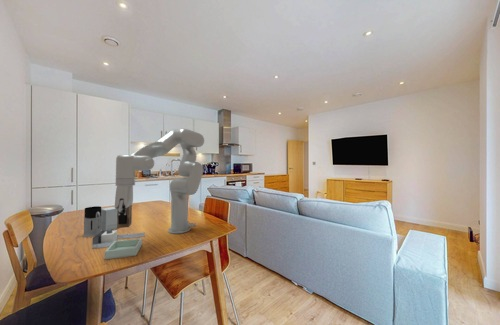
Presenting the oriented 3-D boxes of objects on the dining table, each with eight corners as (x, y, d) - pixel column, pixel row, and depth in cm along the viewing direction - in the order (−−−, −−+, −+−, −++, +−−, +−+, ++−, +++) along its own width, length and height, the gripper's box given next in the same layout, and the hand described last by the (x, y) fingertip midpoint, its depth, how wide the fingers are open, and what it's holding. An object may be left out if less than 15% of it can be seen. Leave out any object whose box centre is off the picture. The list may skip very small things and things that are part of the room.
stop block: (131, 224, 91) (131, 205, 92) (128, 227, 87) (129, 206, 87) (120, 225, 90) (120, 205, 90) (117, 228, 86) (117, 207, 86)
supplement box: (119, 228, 121) (119, 207, 121) (105, 231, 115) (105, 210, 115) (113, 226, 125) (113, 206, 125) (99, 229, 119) (100, 208, 119)
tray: (141, 245, 96) (142, 238, 96) (135, 256, 85) (136, 248, 85) (114, 248, 93) (114, 241, 93) (104, 259, 81) (104, 251, 82)
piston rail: (144, 236, 109) (144, 227, 109) (140, 243, 98) (140, 233, 98) (102, 240, 103) (102, 230, 103) (92, 248, 92) (92, 238, 92)
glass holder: (99, 230, 117) (99, 205, 117) (108, 235, 109) (109, 208, 109) (80, 234, 110) (80, 208, 110) (89, 240, 102) (89, 211, 102)
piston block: (117, 239, 102) (117, 227, 102) (112, 244, 97) (113, 231, 97) (105, 240, 101) (106, 228, 101) (100, 245, 95) (101, 232, 95)
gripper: (122, 180, 96) (121, 218, 96) (108, 183, 80) (107, 228, 79) (139, 180, 98) (138, 217, 98) (129, 183, 82) (128, 227, 82)
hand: (124, 221), depth 89 cm, fingers closed on stop block, 4 cm apart
